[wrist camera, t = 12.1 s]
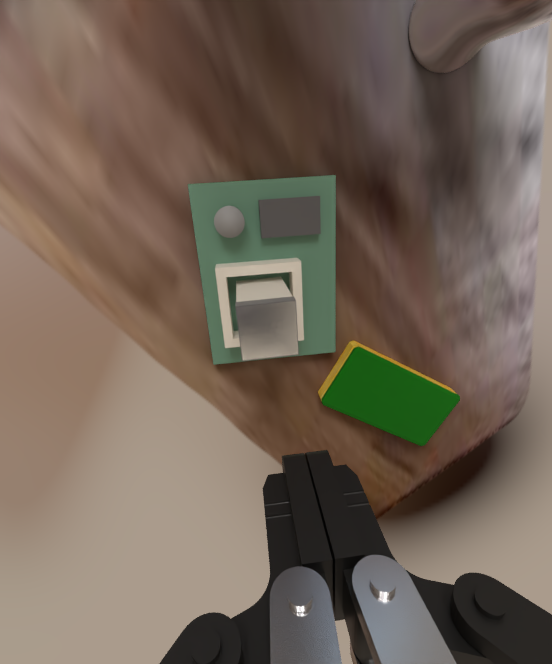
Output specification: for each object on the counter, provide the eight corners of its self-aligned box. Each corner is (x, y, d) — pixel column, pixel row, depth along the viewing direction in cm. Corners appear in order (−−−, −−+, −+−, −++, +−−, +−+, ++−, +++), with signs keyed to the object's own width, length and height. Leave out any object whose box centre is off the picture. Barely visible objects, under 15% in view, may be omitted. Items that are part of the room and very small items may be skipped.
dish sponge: (349, 337, 35) (357, 346, 33) (449, 386, 39) (462, 397, 37) (315, 392, 37) (320, 404, 35) (413, 434, 41) (423, 447, 39)
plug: (235, 280, 30) (235, 306, 23) (281, 275, 31) (295, 300, 23) (240, 323, 32) (242, 361, 24) (284, 319, 32) (298, 354, 25)
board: (189, 184, 28) (184, 183, 25) (331, 176, 29) (342, 173, 26) (214, 359, 34) (212, 374, 31) (332, 347, 35) (341, 360, 32)
